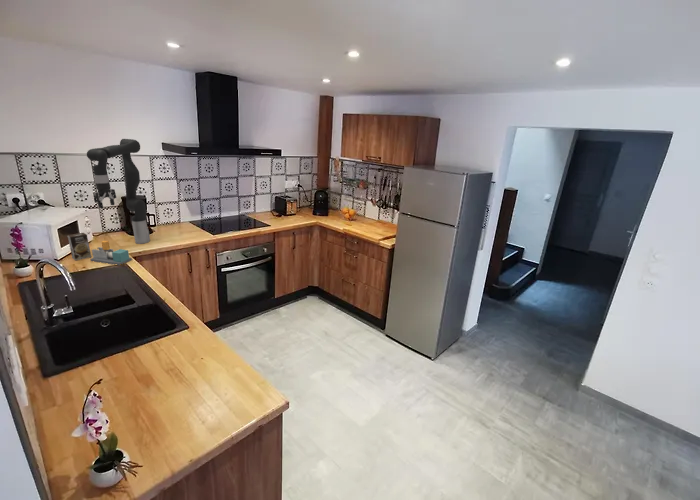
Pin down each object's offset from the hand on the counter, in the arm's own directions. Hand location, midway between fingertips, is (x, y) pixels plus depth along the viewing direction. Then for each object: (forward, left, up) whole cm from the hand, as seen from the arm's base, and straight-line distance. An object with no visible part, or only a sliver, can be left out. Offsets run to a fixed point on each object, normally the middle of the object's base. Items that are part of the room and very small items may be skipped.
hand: (107, 206), depth 224 cm
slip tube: (+9, +7, -32) cm, 34 cm away
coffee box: (+11, -16, -34) cm, 39 cm away
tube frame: (+9, +5, -34) cm, 36 cm away
